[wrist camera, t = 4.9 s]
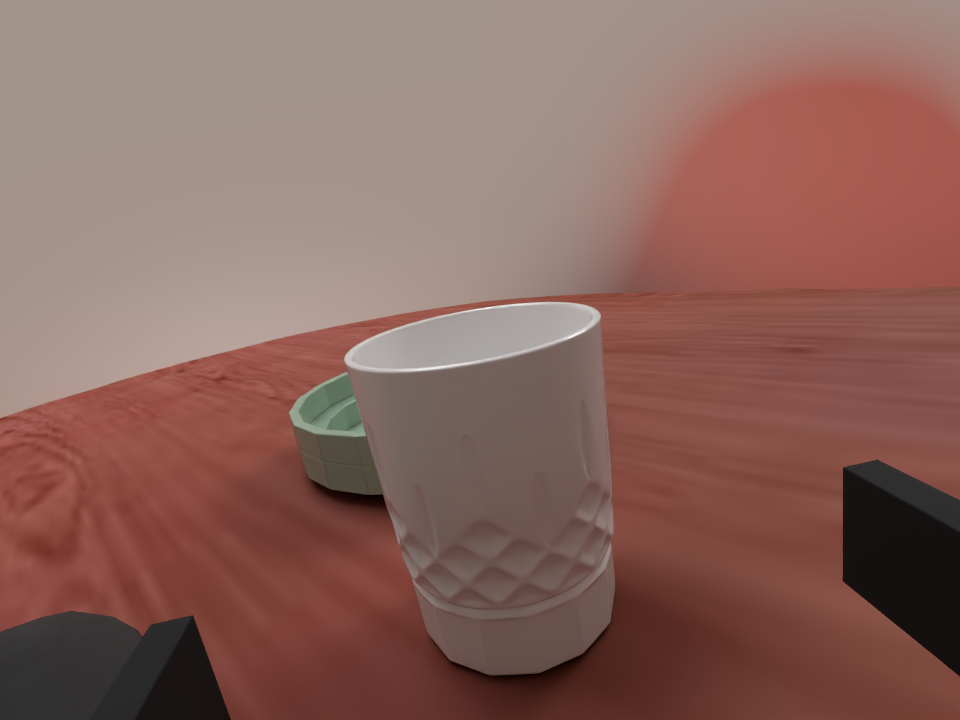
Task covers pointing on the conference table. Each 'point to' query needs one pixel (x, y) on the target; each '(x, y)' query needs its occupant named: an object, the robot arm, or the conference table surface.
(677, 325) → the conference table surface
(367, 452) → the basin
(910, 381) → the conference table surface
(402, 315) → the conference table surface
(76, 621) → the casserole
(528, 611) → the white cup
